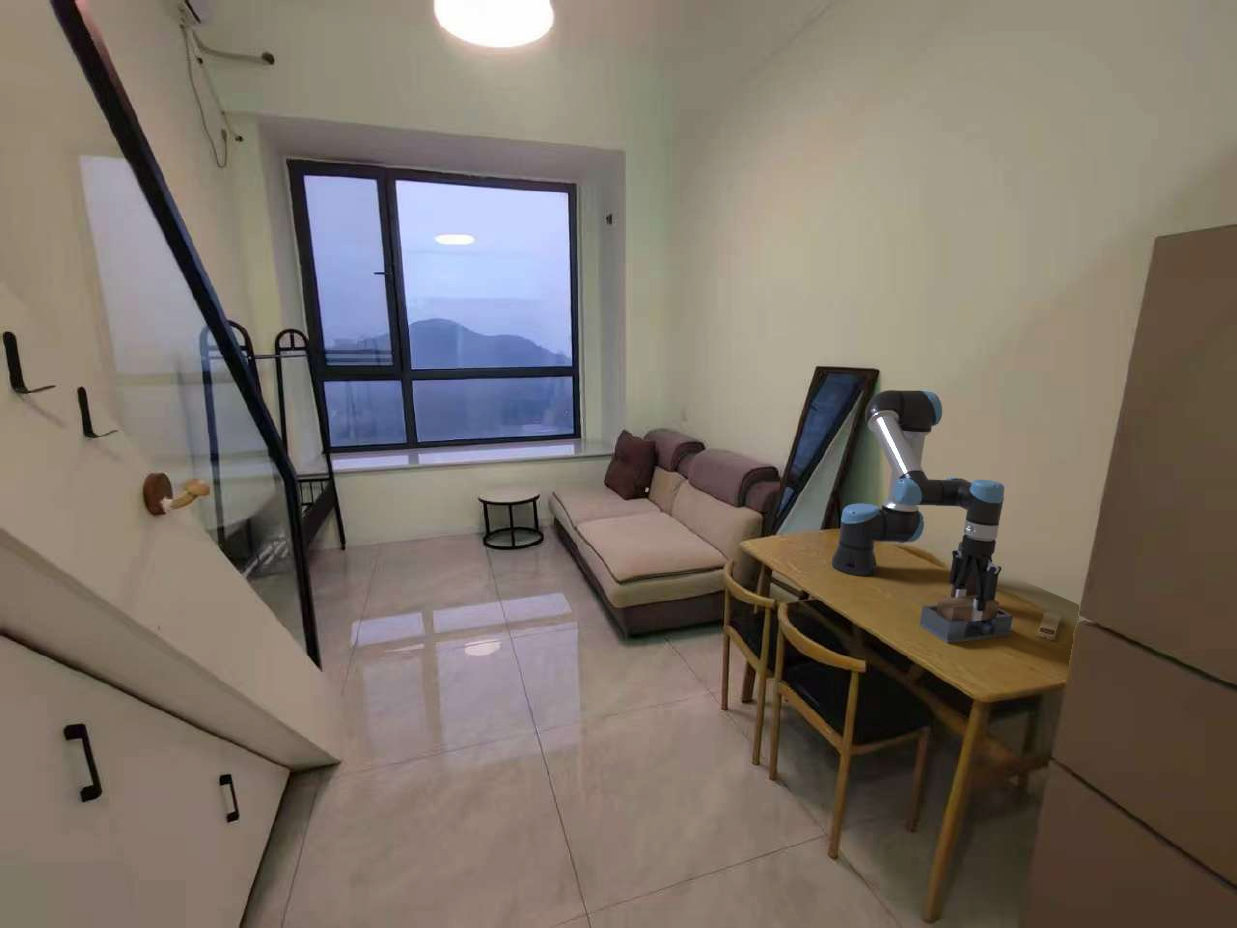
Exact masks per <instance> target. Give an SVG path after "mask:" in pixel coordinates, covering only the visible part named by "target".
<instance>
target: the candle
mask: <svg viewBox="0 0 1237 928" xmlns="http://www.w3.org/2000/svg"><path fill="white" fill-rule="evenodd" d="M957 550H963V548H962V541H960V542H959V543H958V548H957ZM963 561H964V559H963ZM951 585H952V586H951V591H950V598H954V591H955V587H954V585H953V584H951ZM965 587H966V588H963V589H966V590H967V591H966V596H975V595H977V588H976V575H975V574H974V570H972V571H971V573H970V576H969V578H968V580H967V582H966V584H965Z"/></svg>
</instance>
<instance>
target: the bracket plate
mask: <svg viewBox="0 0 1237 928" xmlns="http://www.w3.org/2000/svg"><path fill="white" fill-rule="evenodd" d="M937 606H938V604H932V605H923V606H922V608H921V614H920V615H921V616H920V621H919V623H918V625H919V627H921V628H923V629H925V630H926V631H928V632H929V633H931V634H933V635H934V636H935V637H936V638H939V639H940V640H941V641H943V642H944V643H946V644H950V643H951V644H952V643H960V642H970V641H978V640H986V639H987V640H988V639H993V638H996V639H997V638H1003V637H1010V636H1011V634H1012V633H1011V628H1012V623H1013V617H1014V616H1013V615H1012V614H1011V613H1009V612H1007V611H1005V610H1003V609H1001V608H999V607H998V613H997V615H995V616H993V619H990V620H982V621H974V622H967V620H965V619H958V620H948V619H947V618H945V617H943V616H942V615H940V614H938V613H937Z"/></svg>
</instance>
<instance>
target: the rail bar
mask: <svg viewBox="0 0 1237 928" xmlns="http://www.w3.org/2000/svg"><path fill="white" fill-rule="evenodd" d="M974 598H977V595H975V596H966V597H956V598H951V597H949V598H939V599H938V600H937V605H938V606H937V613H938V614H940V615H942V616H943V617H945V618H947V619H948V620H958V619H965V620H967V622H974V621H971V615H972V609H973V603H974ZM999 606H1000V601H998V600H996V599H995V600H991V601H986V606H985V611H983V612H982V618H981V621H982V620H990V619H993V616H995V615H997V613H998V608H999Z"/></svg>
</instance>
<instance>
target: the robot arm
mask: <svg viewBox="0 0 1237 928" xmlns="http://www.w3.org/2000/svg"><path fill="white" fill-rule="evenodd" d="M942 405H943V404H942V401H941V400H940V398H939V396H938V395H937V394H936V393H934V392H932V391H928V390H927V391H926V390H899V389H898V390H895V389H890V390H889V389H888V390H884V391H880V392H878V393H877V394H875V395H874V396H873V397H872V398H871V399H870V400H869V402H868V403H867V405H866V408H865V412H864V419H865V423H866V425H867V427H868V429H869V431H871V432H873V433H874V434H875V436H876V438H877V441H878V443H879V445H880V447H881V449H882V452H883V455H884V456H885V458H886V460H887V462H888V465H889V466H890V469H891V472H890V473H891V474H890V480H889V488H888V492H887V493H888V495H887V499H886V500H885V501H883V502H882V505H881V508H880V509H879V507H878V506H877V505H875V504H871V503H861V502H860V503H852V504H848V505H847V506H845V507H844V508H843V510H842V514H841V518H840V530H839V539H838V545H837V547H836V549H835V552H834V553H833V556H832V558H831V562H830V564H831V566H832V567H833V568H834V569H835V570H837V571H839V572H842V573H844V574H845V573H846V574H847V575H848V574H849V575H853V576H872V575H874V574H876V573H877V570H878V569H877V568H878V565H877V560H876V555H875V551H874V550H875V548H874V547H875V543H877V542H880V543H900V544H904V543H914V542H915V541H917V540H919V539H920V537H921V536H922V535H923V531H924V528H925V521H924V519H925V518H924V515H923V514H922V512H921V511H919V510H920V509H919V506H936V507H959V508H962V509H964V510H966V516H965V523H964V529H963V535H962V541H961V542H962V548H963V550H958V549H957V550H952V551H951V553H952V563H951V567H950V574H949V579H948V582H949V583H950V584H951V585H952V584H953V585H954V587H955V591H954V598H956V597H966V591H967V590H966V589H963V588H966V587H965V584H966V582H967V580H968V578H969V576H970V573H971V571H972V570H974V574H975V575H976V588H977V598H974V603H973V609H972V615H971V621H981V618H982V612H983V611H985V606H986V601H991V600H996V595H997V594H996V593H997V588H998V587H997V586H998V579H999V575H1000V572H1001V571H1002V567H1001V566H999V565H998V566H997V565H996V564H994V563H993V559H992V556H993V554H994V553H995V550H996V543H997V541H996V539H997V537H998V532H999V527H1000V525H999V524H1000V521H1001V515H1002V510H1003V503H1004V501H1005V496H1004V494H1005V485H1004V484H1003V483H1001V482H999V481H993V480H989V479H974V480H972V482H970V481H968V480H967V479H964V478H959V477H949V478H947V479H930V478H929V479H928V477H927V475H926V473H925V471H924V470H923V467H922V466H921V465H922V459H923V452H924V451H923V450H924V445H925V439H926V436H928V435H929V434H931V432H932V428H933V427H935V426H937V425H938V424H939V423H940V422H941V419H942V416H943V406H942ZM963 559H964V561H963Z"/></svg>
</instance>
